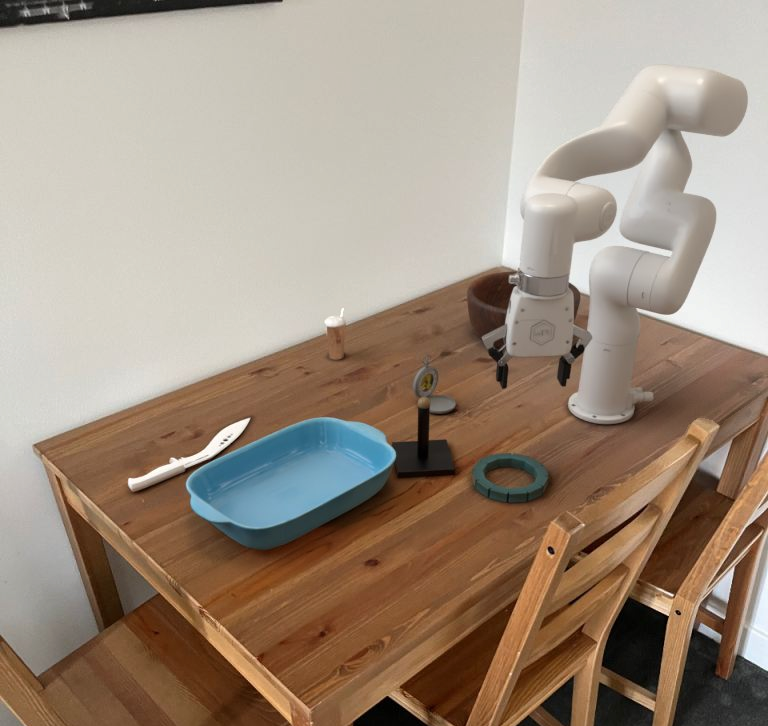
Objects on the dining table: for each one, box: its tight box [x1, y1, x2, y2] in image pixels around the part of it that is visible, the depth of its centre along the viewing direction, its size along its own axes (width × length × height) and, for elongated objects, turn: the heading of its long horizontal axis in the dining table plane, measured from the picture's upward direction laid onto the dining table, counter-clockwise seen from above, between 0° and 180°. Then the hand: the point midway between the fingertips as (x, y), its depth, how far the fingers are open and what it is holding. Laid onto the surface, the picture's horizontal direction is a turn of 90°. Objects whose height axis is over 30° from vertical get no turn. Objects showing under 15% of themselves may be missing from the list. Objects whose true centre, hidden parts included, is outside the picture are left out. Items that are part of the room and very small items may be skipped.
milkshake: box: [323, 307, 347, 361], centre depth 183 cm, size 4×5×10 cm
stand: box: [391, 397, 456, 479], centre depth 148 cm, size 10×10×13 cm
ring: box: [471, 452, 549, 504], centre depth 146 cm, size 13×13×2 cm
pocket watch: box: [412, 353, 457, 415], centre depth 165 cm, size 8×8×10 cm
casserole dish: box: [185, 416, 396, 551], centre depth 140 cm, size 37×22×7 cm, turn 135°
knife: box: [127, 417, 251, 493], centre depth 154 cm, size 30×2×8 cm
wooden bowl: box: [466, 270, 582, 349], centre depth 192 cm, size 25×25×10 cm
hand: (531, 383), depth 138 cm, fingers open, 9 cm apart
